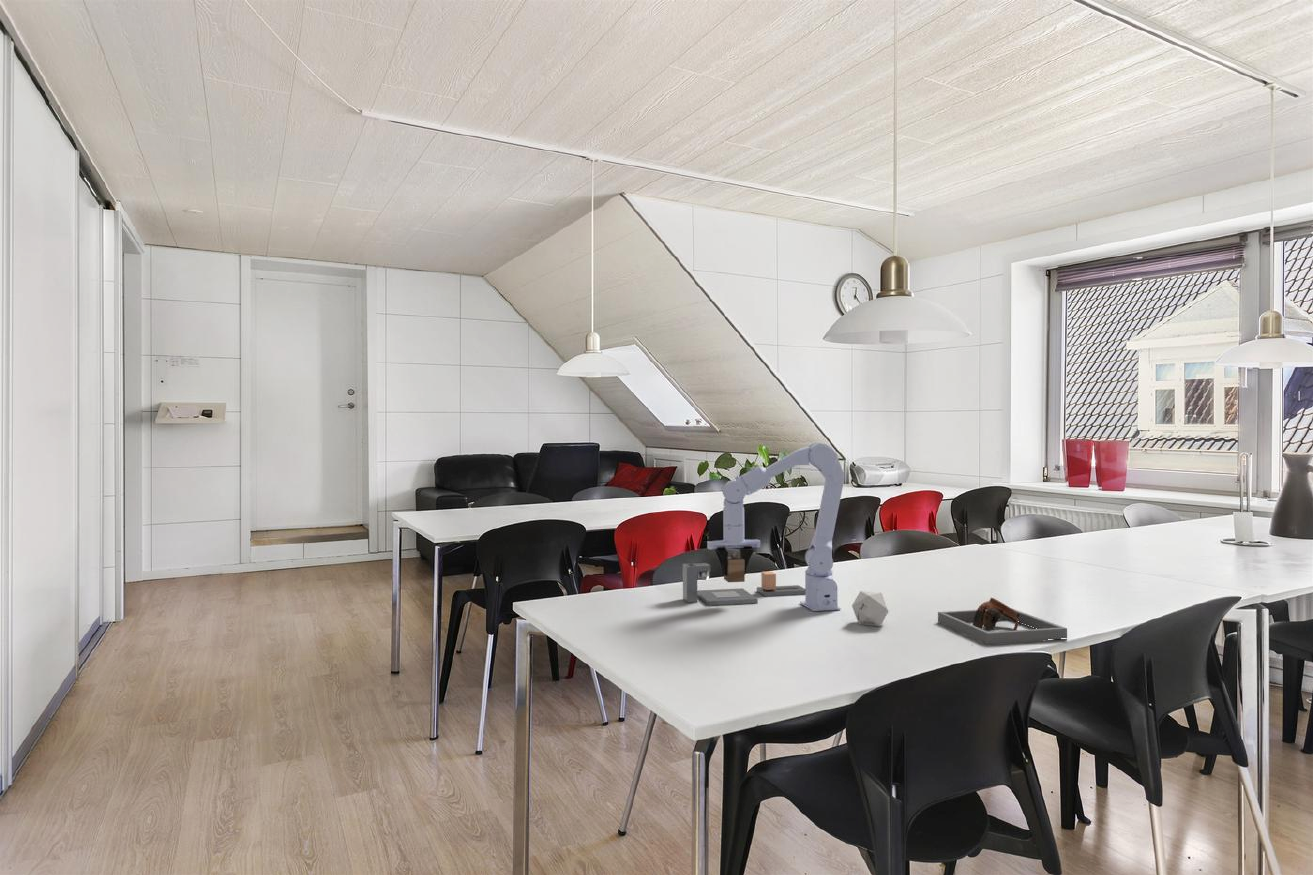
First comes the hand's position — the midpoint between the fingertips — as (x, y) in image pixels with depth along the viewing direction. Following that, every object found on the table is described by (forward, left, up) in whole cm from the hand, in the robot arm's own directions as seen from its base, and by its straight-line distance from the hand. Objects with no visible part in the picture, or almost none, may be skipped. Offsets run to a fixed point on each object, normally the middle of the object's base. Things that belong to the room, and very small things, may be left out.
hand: (734, 574), depth 207 cm
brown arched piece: (-37, -53, -9) cm, 65 cm away
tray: (-38, -54, -8) cm, 67 cm away
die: (-26, -27, -9) cm, 38 cm away
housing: (0, 0, -2) cm, 2 cm away
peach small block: (+12, -14, -7) cm, 20 cm away
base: (+12, -18, -8) cm, 23 cm away
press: (+8, +2, -8) cm, 12 cm away
